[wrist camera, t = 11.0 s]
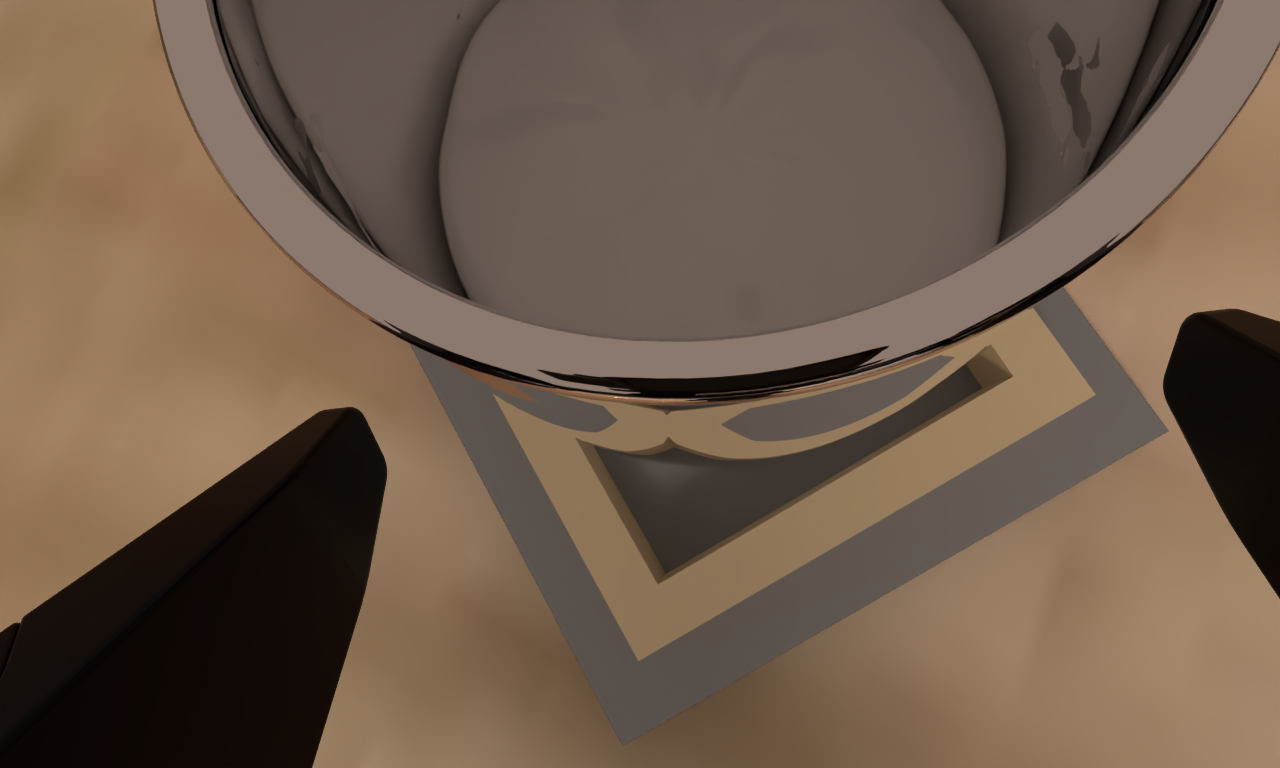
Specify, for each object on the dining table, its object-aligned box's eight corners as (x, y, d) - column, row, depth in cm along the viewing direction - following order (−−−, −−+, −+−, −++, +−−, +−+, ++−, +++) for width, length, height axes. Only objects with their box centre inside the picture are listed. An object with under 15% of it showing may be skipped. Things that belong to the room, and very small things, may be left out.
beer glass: (791, 168, 19) (982, -897, 4) (911, 410, 18) (1734, 62, 3) (551, 276, 20) (-11, -359, 5) (651, 520, 18) (312, 668, 4)
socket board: (1149, 433, 18) (1225, 424, 15) (627, 734, 18) (608, 778, 16) (817, -22, 21) (831, -101, 18) (371, 253, 21) (317, 219, 18)
